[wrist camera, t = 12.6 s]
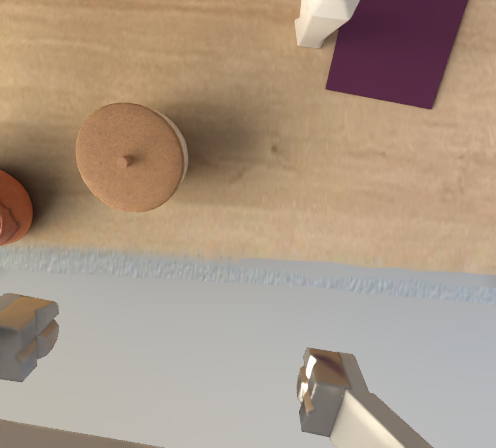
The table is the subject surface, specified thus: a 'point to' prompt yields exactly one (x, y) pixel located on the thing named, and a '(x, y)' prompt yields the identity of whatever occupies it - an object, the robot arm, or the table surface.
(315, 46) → the white faceted vase
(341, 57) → the cloth
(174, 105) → the table surface
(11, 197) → the potted flower
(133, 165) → the trinket box
